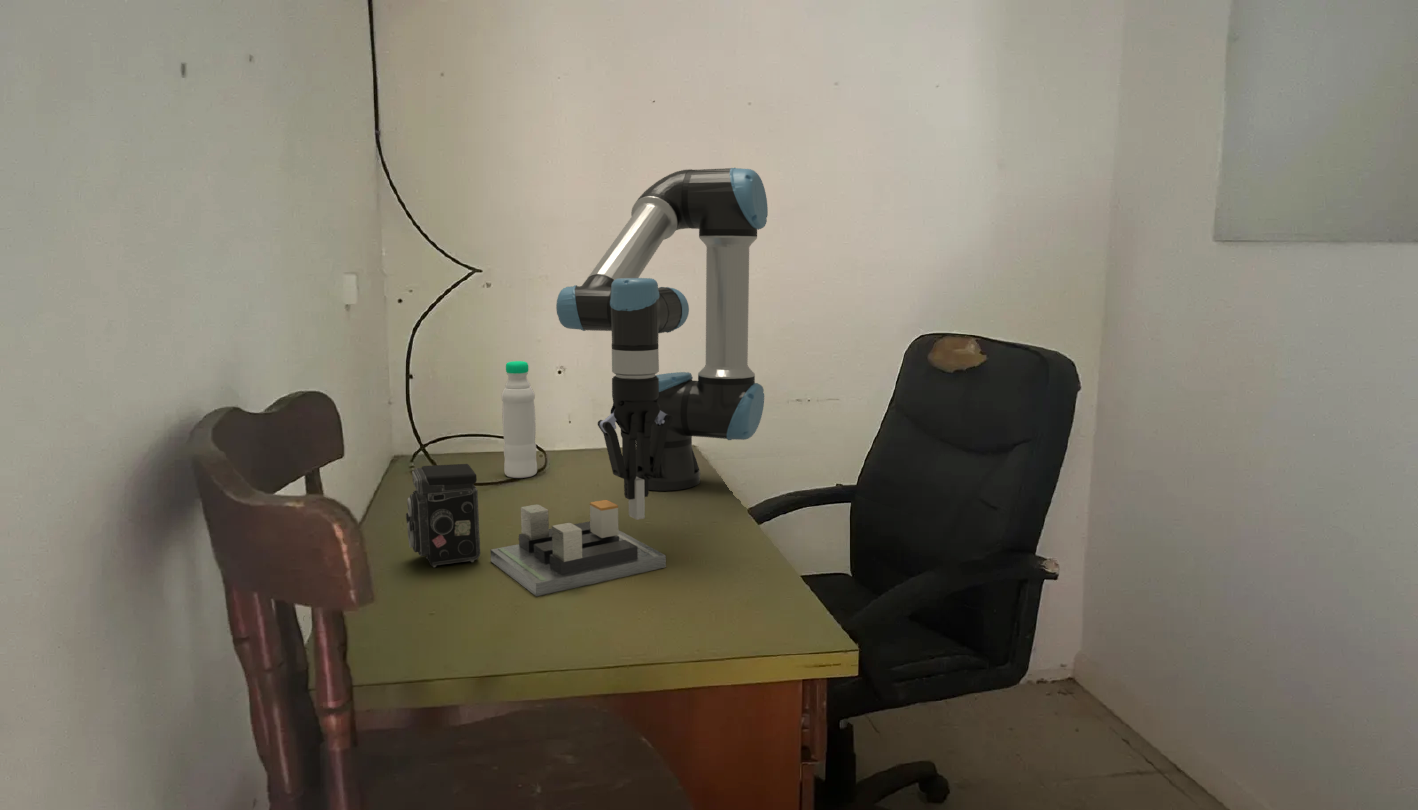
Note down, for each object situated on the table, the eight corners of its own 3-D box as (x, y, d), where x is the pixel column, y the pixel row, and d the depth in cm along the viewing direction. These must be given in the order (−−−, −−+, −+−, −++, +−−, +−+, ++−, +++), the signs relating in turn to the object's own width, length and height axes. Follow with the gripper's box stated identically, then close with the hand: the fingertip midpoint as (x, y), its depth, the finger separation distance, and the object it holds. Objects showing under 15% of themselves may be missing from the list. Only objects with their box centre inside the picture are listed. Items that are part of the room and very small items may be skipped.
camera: (406, 554, 154) (401, 465, 152) (471, 546, 159) (467, 459, 156) (413, 574, 145) (408, 480, 142) (482, 565, 149) (478, 474, 147)
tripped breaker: (606, 528, 154) (606, 499, 153) (618, 534, 151) (618, 505, 150) (590, 531, 152) (589, 502, 152) (601, 538, 149) (601, 508, 148)
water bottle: (521, 469, 211) (517, 358, 207) (544, 473, 207) (540, 361, 203) (497, 475, 205) (493, 362, 201) (520, 480, 201) (516, 364, 197)
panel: (612, 537, 163) (611, 490, 162) (665, 567, 148) (665, 515, 147) (490, 561, 151) (488, 510, 150) (536, 596, 136) (534, 540, 135)
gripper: (658, 369, 157) (659, 505, 161) (588, 375, 150) (590, 517, 154) (682, 374, 151) (682, 516, 155) (610, 380, 144) (612, 529, 148)
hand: (636, 516), depth 154 cm, fingers closed
